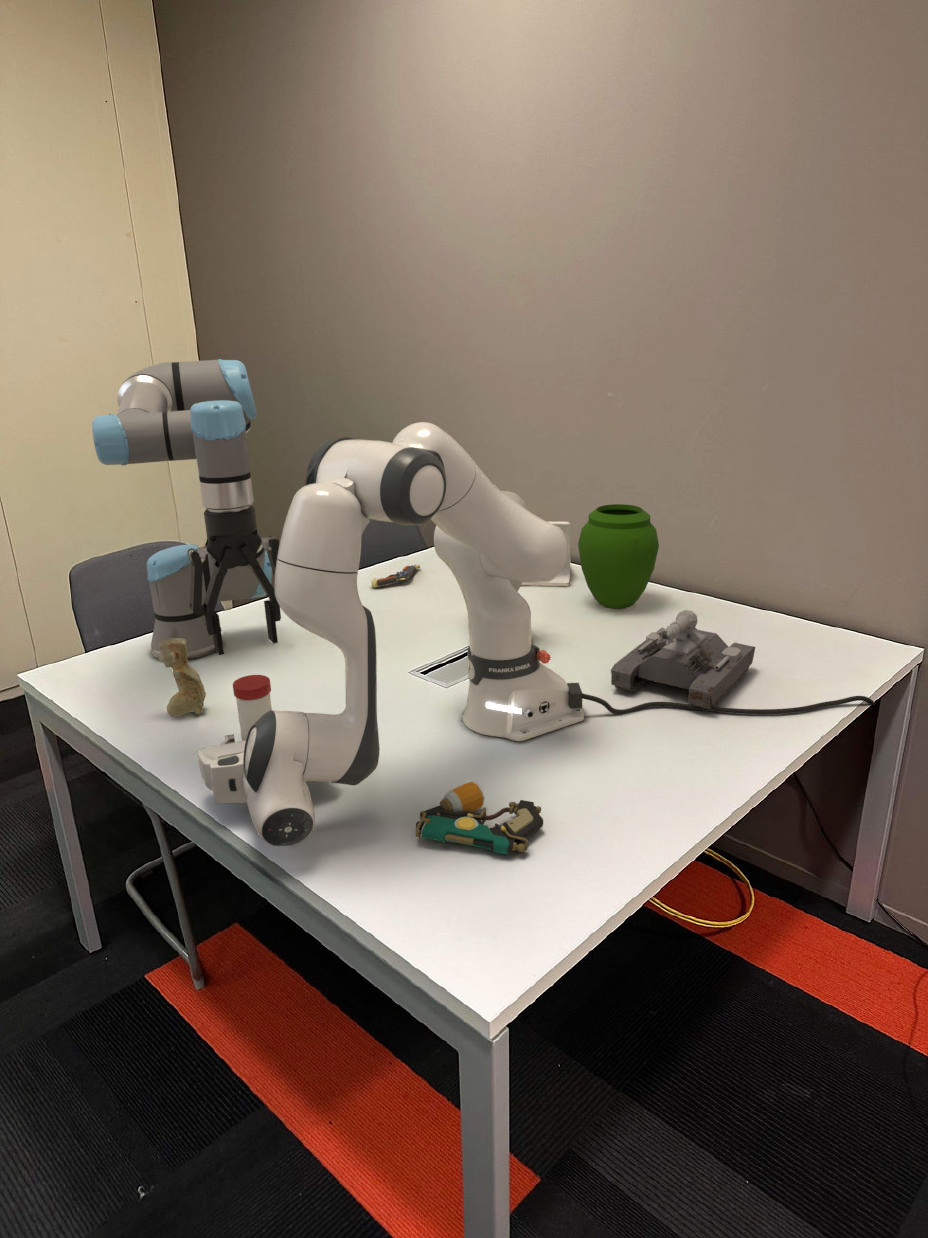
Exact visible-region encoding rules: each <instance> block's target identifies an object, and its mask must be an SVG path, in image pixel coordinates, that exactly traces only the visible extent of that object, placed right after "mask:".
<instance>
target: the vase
mask: <svg viewBox="0 0 928 1238" xmlns="http://www.w3.org/2000/svg"><path fill="white" fill-rule="evenodd" d="M587 516H588V517H587V518H588V521H587V522H586V523H585V524H584V525H583V526H582V527H581V529H580V534H579V538H578V541H577V546H578V554H579V562H580V569H581V571H582V574H583V577H584V580H585V583H586V585H587V588H588V590H589V591H590V594H592V597H593V598H594V600H595V601H596V602H597V603H598V604H599V605H600V606H602V607H604V608H606V609H609V610H625V609H628V608H630V607H632V606H634V604H636V602H638V601H639V599H640V597H641V596H642V595H643V593H644V592H645V590H646V588H647V586H648V584H649V581H650V579H651V577H652V574H653V572H654V570H655V566H656V562H657V557H658V552H659V548H660V544H659V543H660V542H659V537H658V531H657V528H656V527H655V526H654V524H653V523H652V522H651V515H650V514H649V512H647V511H645V510H644V509H643V508H642V507H641V506H638V505H633V504H622V503H621V504H619V503H616V504H615V503H614V504H604V505H601V506H598V507H597V508H595V509H594V510H592V511H591V512H590V513H589V514H588V515H587Z"/></svg>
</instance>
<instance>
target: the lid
mask: <svg viewBox="0 0 928 1238" xmlns="http://www.w3.org/2000/svg"><path fill="white" fill-rule="evenodd" d="M232 691H233V696H234V697H235V699H236V698H238V699H242V700H253V699H258V698H262V697H264V696H266V695H268V694H269V693H270V694H271V691H272V686H271V679H270V678H269V677H268V676H266V675H263V674H249V675H245V676H242V677H239V678H236V679H234V681H233V682H232Z"/></svg>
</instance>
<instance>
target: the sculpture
mask: <svg viewBox="0 0 928 1238" xmlns="http://www.w3.org/2000/svg"><path fill="white" fill-rule="evenodd" d="M186 642H187V641H186V639H183V638H172V639H165V640H162V641H161V642H160V643H159V646H158V648H159V653H160V657H159V659H158V660H159V662H161V663H163V664H164V666H165V668H171V669H172V676H173V678H174V681H175V684H176V687H177V692H176V693H174V694H173V695H172V696H171V697H170V699H169V700H168V703H167V706H166V709H165V710H166V712H167V714H168V715H170V716H174V717H179V716H183V715H187V714H188V713H192V712H194V713H195V714H196V715H199V714H202V711H203V710H204V709H203V708H204V705H205V703H204V702H205V700H206V695H207V693H206V691H205V690H206V689H205V687H204V684H203V681H202V679H201V676H200V674H199V673H198V671H197V670H196V669H195V668H194V667H193V666H191V665H190V664H189V660H187V646H186Z"/></svg>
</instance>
